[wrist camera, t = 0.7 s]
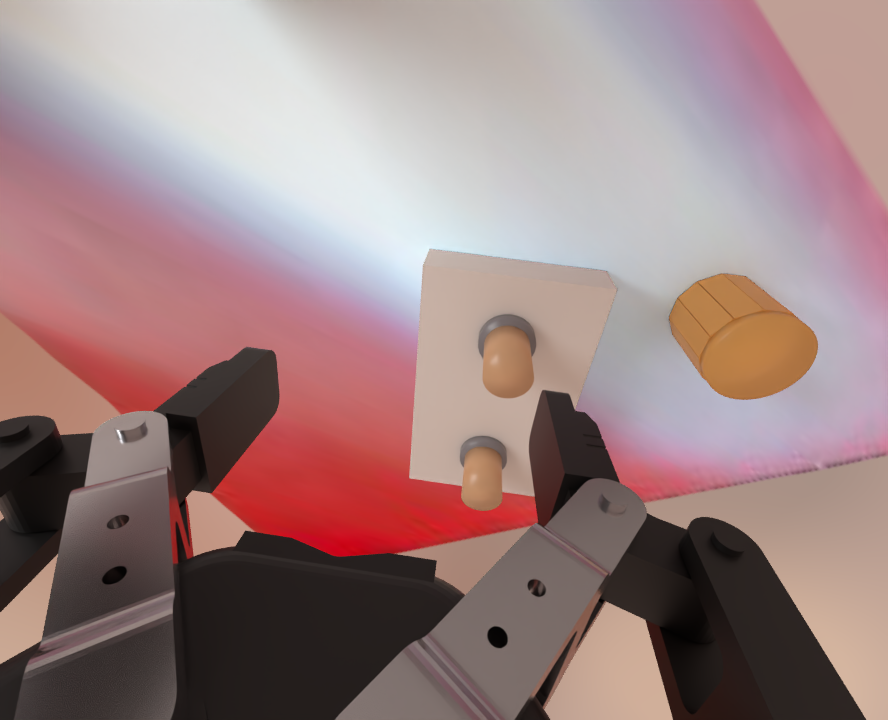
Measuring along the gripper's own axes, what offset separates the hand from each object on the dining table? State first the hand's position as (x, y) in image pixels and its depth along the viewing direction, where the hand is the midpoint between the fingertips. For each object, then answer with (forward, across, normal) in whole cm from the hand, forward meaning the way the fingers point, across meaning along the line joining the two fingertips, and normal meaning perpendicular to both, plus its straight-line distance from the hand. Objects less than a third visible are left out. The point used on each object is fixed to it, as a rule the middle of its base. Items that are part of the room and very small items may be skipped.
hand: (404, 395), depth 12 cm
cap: (+18, -18, +2) cm, 26 cm away
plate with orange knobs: (+19, -5, +10) cm, 22 cm away
